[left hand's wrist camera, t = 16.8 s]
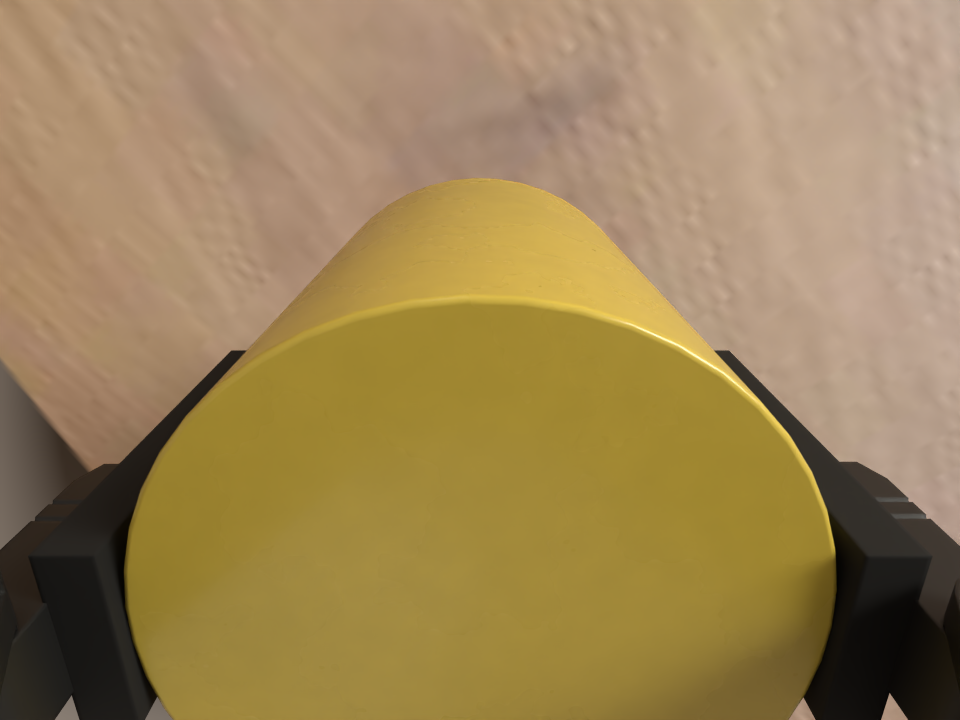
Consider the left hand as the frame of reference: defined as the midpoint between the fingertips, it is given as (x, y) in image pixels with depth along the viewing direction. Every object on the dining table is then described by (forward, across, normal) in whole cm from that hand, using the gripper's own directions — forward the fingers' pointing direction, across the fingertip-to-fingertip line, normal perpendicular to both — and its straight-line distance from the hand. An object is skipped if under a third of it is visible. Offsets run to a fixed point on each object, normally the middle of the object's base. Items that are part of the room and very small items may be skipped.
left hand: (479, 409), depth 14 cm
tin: (+4, 0, 0) cm, 4 cm away
